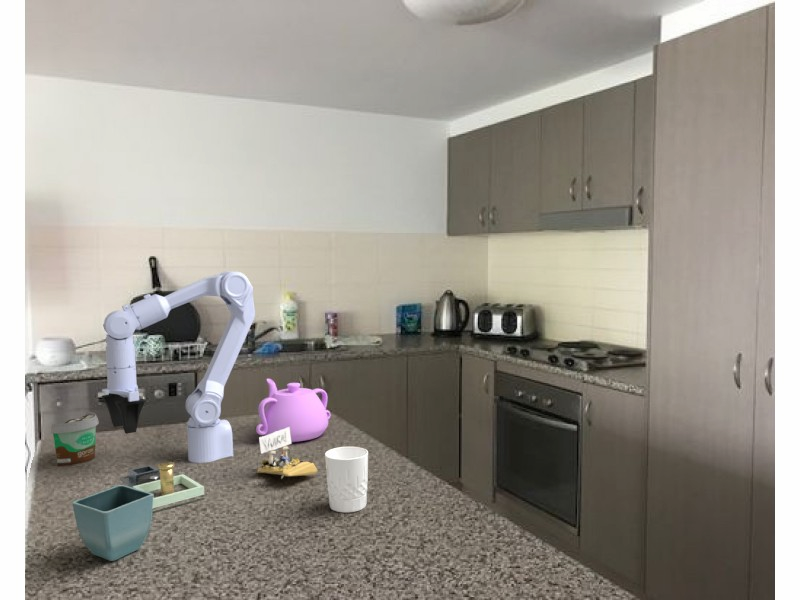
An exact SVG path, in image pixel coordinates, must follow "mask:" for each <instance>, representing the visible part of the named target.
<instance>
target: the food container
mask: <svg viewBox="0 0 800 600" xmlns="http://www.w3.org/2000/svg"><path fill="white" fill-rule="evenodd" d="M84 414H85V415H83V416H81V417H78V418H72V419H68V420H67V421H65V422H63V423H51V428H50V434H53V442H54V448H55V455H56V457H55V458H56V464H57V466H58V467H68V466H69V467H70V466H74V465H78V464H83V463H88V462H91V461H92V460H94V459H95V458H96V437H97V436H96V435H97V434H96V432H97V431H96V430H97V426H98V425H99V423H100V422H99V421H100V420H99V419H98V416H97V414H96V413H95V412H92V411H85V413H84Z"/></svg>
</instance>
